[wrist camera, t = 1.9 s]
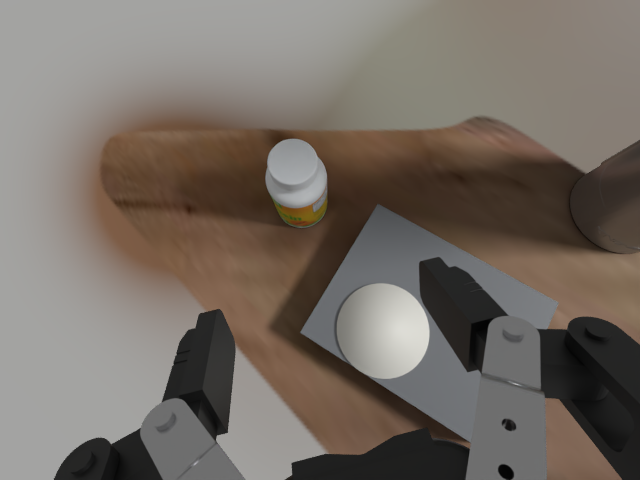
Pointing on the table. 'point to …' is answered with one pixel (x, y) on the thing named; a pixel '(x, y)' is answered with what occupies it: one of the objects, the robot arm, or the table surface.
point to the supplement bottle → (297, 183)
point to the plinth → (410, 317)
